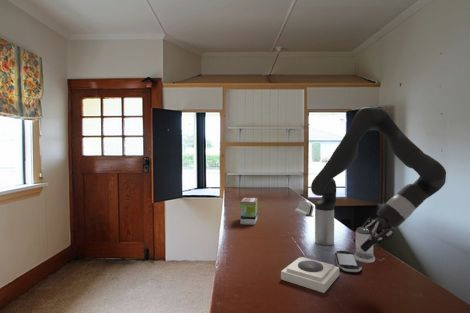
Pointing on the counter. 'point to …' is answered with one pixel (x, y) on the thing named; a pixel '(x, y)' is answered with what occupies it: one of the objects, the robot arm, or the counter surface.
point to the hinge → (304, 208)
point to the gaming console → (347, 262)
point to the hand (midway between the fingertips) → (358, 246)
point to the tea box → (248, 211)
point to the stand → (310, 274)
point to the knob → (361, 237)
